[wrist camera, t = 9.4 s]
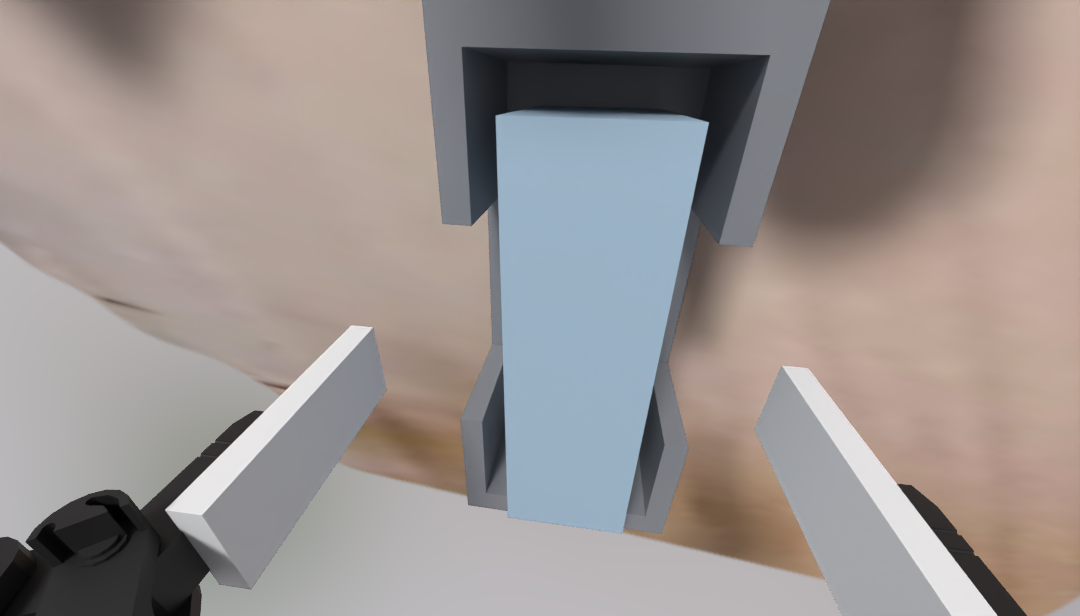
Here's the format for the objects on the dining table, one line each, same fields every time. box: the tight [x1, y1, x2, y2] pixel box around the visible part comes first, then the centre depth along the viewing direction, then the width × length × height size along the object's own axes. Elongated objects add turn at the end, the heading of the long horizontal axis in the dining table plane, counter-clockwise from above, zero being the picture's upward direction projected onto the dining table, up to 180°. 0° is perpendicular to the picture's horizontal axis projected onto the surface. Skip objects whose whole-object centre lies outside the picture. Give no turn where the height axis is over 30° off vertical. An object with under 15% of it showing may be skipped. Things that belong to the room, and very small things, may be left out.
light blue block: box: [496, 106, 709, 534], centre depth 17 cm, size 5×16×8 cm, turn 178°
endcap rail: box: [422, 0, 830, 534], centre depth 18 cm, size 10×21×7 cm, turn 178°
